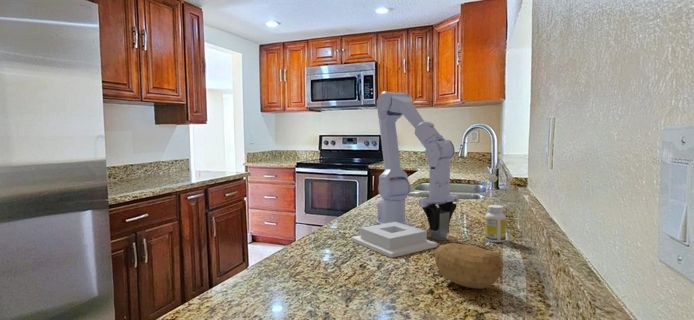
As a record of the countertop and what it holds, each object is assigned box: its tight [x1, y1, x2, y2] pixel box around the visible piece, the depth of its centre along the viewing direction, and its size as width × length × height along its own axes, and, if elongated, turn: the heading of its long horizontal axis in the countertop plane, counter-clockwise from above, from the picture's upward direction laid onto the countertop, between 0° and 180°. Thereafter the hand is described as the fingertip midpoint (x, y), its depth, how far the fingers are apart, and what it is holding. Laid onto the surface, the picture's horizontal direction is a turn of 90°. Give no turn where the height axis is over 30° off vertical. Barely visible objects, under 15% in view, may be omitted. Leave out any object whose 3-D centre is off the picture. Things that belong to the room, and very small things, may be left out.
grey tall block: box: [428, 210, 450, 242], centre depth 106 cm, size 4×4×8 cm
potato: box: [433, 242, 504, 290], centre depth 74 cm, size 10×14×8 cm
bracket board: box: [350, 222, 438, 259], centre depth 102 cm, size 18×16×4 cm
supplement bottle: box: [484, 204, 507, 243], centre depth 104 cm, size 5×5×10 cm
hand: (439, 228), depth 106 cm, fingers closed on grey tall block, 4 cm apart
